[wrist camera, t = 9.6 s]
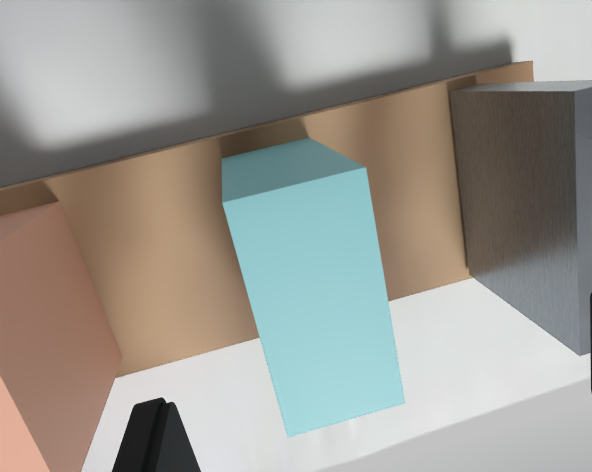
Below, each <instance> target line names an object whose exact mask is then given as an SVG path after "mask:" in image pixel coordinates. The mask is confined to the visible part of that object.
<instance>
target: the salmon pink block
mask: <svg viewBox="0 0 592 472" xmlns="http://www.w3.org/2000/svg"><path fill="white" fill-rule="evenodd" d="M122 358H123V356H122V354H121V352H120V349H119V347H118V344H117V342H116V339H115V337H114V334H113V332H112V329H111V327H110V325H109V322H108V320H107V317H106V315H105V312H104V310H103V307H102V305H101V302H100V300H99V298H98V295H97V293H96V290H95V288H94V285H93V283H92V280H91V278H90V276H89V273H88V271H87V268H86V266H85V263H84V261H83V258H82V256H81V253H80V251H79V249H78V246H77V244H76V241H75V239H74V236H73V234H72V231H71V229H70V226H69V224H68V222H67V219H66V217H65V214H64V212H63V209H62V207H61V204H60V202H59V201H58V202H54V203H50V204H46V205H42V206H38V207H34V208H30V209H26V210H22V211H18V212H14V213H10V214H6V215H2V216H0V472H81V470H82V467H83V464H84V461H85V459H86V456H87V453H88V451H89V448H90V445H91V442H92V440H93V437H94V434H95V431H96V429H97V426H98V423H99V421H100V418H101V415H102V412H103V410H104V407H105V404H106V401H107V399H108V396H109V393H110V391H111V388H112V385H113V382H114V380H115V377H116V374H117V371H118V369H119V366H120V363H121V361H122Z"/></svg>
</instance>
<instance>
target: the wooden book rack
mask: <svg viewBox="0 0 592 472" xmlns="http://www.w3.org/2000/svg"><path fill="white" fill-rule="evenodd" d="M513 82H534V79H533V61H525V62H515V63H510V64H506V65H501V66H497V67H493V68H489V69H485V70H481V71H477V72H473V73H469V74H465V75H460V76H456V77H452V78H448V79H444V80H440V81H436V82H432V83H428V84H424V85H419V86H415V87H411V88H407V89H403V90H399V91H395V92H391V93H387V94H383V95H378V96H374V97H370V98H366V99H362V100H358V101H354V102H350V103H346V104H342V105H337V106H333V107H329V108H325V109H321V110H317V111H313V112H309V113H305V114H301V115H296V116H292V117H288V118H284V119H280V120H276V121H272V122H268V123H264V124H260V125H255V126H251V127H247V128H243V129H239V130H235V131H231V132H227V133H223V134H219V135H214V136H210V137H206V138H202V139H198V140H194V141H190V142H186V143H182V144H178V145H173V146H169V147H165V148H161V149H157V150H153V151H149V152H145V153H141V154H137V155H132V156H128V157H124V158H120V159H116V160H112V161H108V162H104V163H100V164H96V165H91V166H87V167H83V168H79V169H75V170H71V171H67V172H63V173H59V174H55V175H50V176H46V177H42V178H38V179H34V180H30V181H26V182H22V183H18V184H14V185H9V186H5V187H1V188H0V216H2V215H6V214H10V213H14V212H18V211H22V210H26V209H30V208H34V207H38V206H42V205H46V204H50V203H54V202H58V201H59V202H60V204H61V207H62V209H63V212H64V214H65V217H66V219H67V222H68V224H69V226H70V229H71V231H72V234H73V236H74V239H75V241H76V244H77V246H78V249H79V251H80V253H81V256H82V258H83V261H84V263H85V266H86V268H87V271H88V273H89V276H90V278H91V280H92V283H93V285H94V288H95V290H96V293H97V295H98V298H99V300H100V302H101V305H102V307H103V310H104V312H105V315H106V317H107V320H108V322H109V325H110V327H111V329H112V332H113V334H114V337H115V339H116V342H117V344H118V347H119V349H120V352H121V354H122V356H123V358H122V361H121V363H120V366H119V369H118V371H117V374H116V377H115V378H117V377H121V376H124V375H128V374H132V373H135V372H139V371H142V370H146V369H149V368H153V367H156V366H160V365H164V364H167V363H171V362H174V361H178V360H181V359H185V358H188V357H192V356H196V355H199V354H203V353H206V352H210V351H213V350H217V349H221V348H224V347H228V346H231V345H235V344H238V343H242V342H245V341H249V340H253V339H256V338H260V336H259V333H258V329H257V326H256V322H255V318H254V315H253V311H252V308H251V304H250V300H249V297H248V293H247V290H246V286H245V282H244V279H243V275H242V272H241V268H240V264H239V261H238V257H237V254H236V250H235V247H234V243H233V239H232V236H231V232H230V229H229V225H228V221H227V218H226V214H225V211H224V207H223V203H222V158H226V157H230V156H234V155H238V154H242V153H247V152H251V151H255V150H259V149H263V148H267V147H271V146H276V145H280V144H284V143H288V142H292V141H296V140H301V139H305V138H311V139H313V140H315V141H317V142H319V143H321V144H323V145H325V146H327V147H328V148H330V149H332V150H334V151H336V152H338V153H340V154H342V155H344V156H346V157H348V158H349V159H351V160H353V161H355V162H357V163H359V164H361V165H363V166H365V167H366V170H367V176H368V182H369V188H370V194H371V200H372V207H373V213H374V219H375V225H376V231H377V237H378V243H379V249H380V255H381V261H382V267H383V273H384V279H385V285H386V291H387V297H388V301H391V300H395V299H398V298H402V297H405V296H409V295H413V294H416V293H420V292H423V291H427V290H430V289H434V288H438V287H441V286H445V285H448V284H452V283H455V282H459V281H462V280H466V279H470V278H473V277H472V276H470V275H469V268H468V259H467V249H466V240H465V230H464V221H463V212H462V202H461V193H460V183H459V174H458V165H457V155H456V146H455V136H454V127H453V117H452V108H451V99H450V91H452V90H456V89H460V88H464V87H468V86H473V85H477V84H481V83H513Z"/></svg>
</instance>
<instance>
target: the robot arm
mask: <svg viewBox="0 0 592 472" xmlns="http://www.w3.org/2000/svg"><path fill="white" fill-rule="evenodd" d="M590 341H591V391H592V293H591V294H590ZM112 472H201V471H200V468H199V466H198V463H197V460H196V458H195V455H194V452H193V450H192V447H191V444H190V442H189V439H188V436H187V434H186V431H185V428H184V426H183V423H182V420H181V418H180V415H179V413H178V410H177V407H176V405H175V404H174V402H170V403H166V401H165V400H164V398H157V399H153V400H150V401H146V402H142V403H138V404H136V405H134V407H133V409H132V412H131V415H130V418H129V421H128V424H127V427H126V430H125V433H124V437H123V440H122V443H121V446H120V449H119V452H118V455H117V458H116V461H115V464H114V467H113V470H112Z"/></svg>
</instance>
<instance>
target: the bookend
mask: <svg viewBox="0 0 592 472" xmlns="http://www.w3.org/2000/svg"><path fill="white" fill-rule="evenodd" d="M450 99H451V108H452V117H453V127H454V136H455V146H456V155H457V165H458V174H459V183H460V193H461V202H462V212H463V221H464V230H465V240H466V249H467V259H468V268H469V275H470V276H472V277H473V278H475V279H476V280H477V281H479V282H480V283H481V284H483V285H484V286H485V287H487V288H488V289H489V290H491V291H492V292H494V293H495V294H496V295H498V296H499V297H500V298H502V299H503V300H504V301H506V302H507V303H508V304H510V305H511V306H512V307H514V308H515V309H517V310H518V311H519V312H521V313H522V314H523V315H525V316H526V317H527V318H529V319H530V320H531V321H533V322H534V323H536V324H537V325H538V326H540V327H541V328H542V329H544V330H545V331H546V332H548V333H549V334H550V335H552V336H553V337H555V338H556V339H557V340H559V341H560V342H561V343H563V344H564V345H565V346H567V347H568V348H569V349H571V350H572V351H573V352H575V353H576V354H578V355H579V356H581V355H585V354H588V353H591V341H590V294H591V293H592V80H583V81H548V82H513V83H481V84H477V85H473V86H468V87H464V88H460V89H456V90H452V91H450Z"/></svg>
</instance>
